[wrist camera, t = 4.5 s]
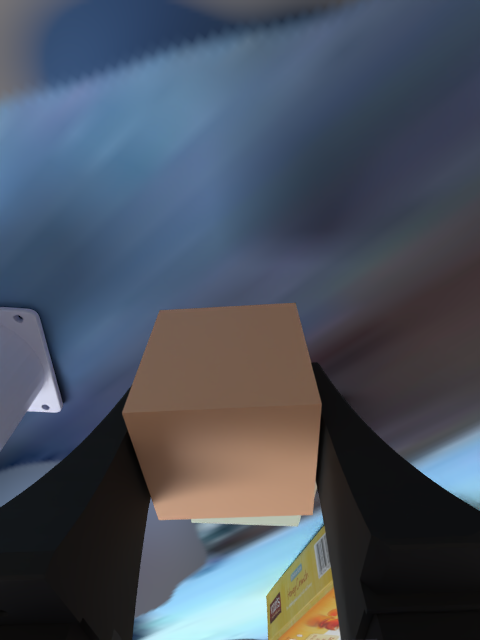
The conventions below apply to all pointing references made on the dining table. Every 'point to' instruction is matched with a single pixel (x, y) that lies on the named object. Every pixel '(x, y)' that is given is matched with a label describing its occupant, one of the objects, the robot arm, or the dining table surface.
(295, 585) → the cereal box
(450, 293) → the dining table surface
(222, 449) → the terracotta cube
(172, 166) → the dining table surface
